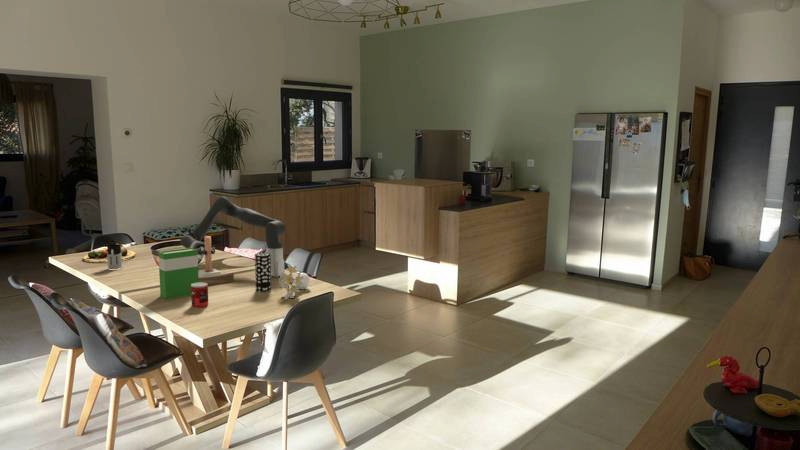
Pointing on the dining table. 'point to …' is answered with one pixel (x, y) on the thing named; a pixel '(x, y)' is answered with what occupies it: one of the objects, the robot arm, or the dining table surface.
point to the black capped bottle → (114, 256)
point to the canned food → (199, 294)
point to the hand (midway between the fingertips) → (210, 252)
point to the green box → (177, 272)
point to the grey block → (208, 273)
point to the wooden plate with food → (103, 256)
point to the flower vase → (294, 281)
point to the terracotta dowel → (208, 254)
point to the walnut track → (217, 279)
